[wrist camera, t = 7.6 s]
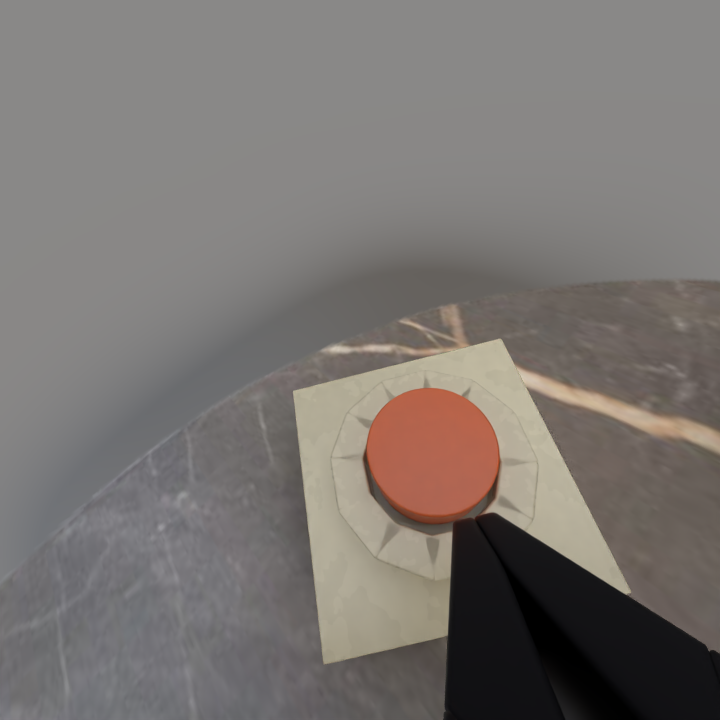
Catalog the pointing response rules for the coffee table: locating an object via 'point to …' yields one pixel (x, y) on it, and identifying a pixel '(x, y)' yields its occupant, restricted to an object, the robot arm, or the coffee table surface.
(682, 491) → the coffee table surface
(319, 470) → the beige button housing
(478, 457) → the power button
